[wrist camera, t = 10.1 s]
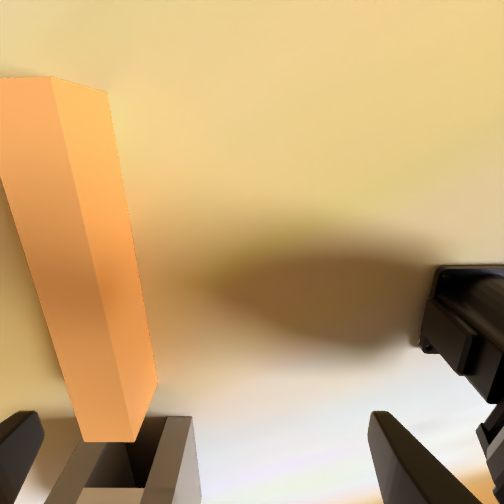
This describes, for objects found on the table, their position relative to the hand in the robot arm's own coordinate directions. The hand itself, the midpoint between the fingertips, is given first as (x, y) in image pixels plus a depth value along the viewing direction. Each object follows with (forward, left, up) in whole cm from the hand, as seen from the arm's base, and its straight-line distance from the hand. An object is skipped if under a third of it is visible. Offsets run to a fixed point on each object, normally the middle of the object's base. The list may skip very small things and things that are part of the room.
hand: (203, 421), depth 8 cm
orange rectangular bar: (+8, +1, -12) cm, 15 cm away
